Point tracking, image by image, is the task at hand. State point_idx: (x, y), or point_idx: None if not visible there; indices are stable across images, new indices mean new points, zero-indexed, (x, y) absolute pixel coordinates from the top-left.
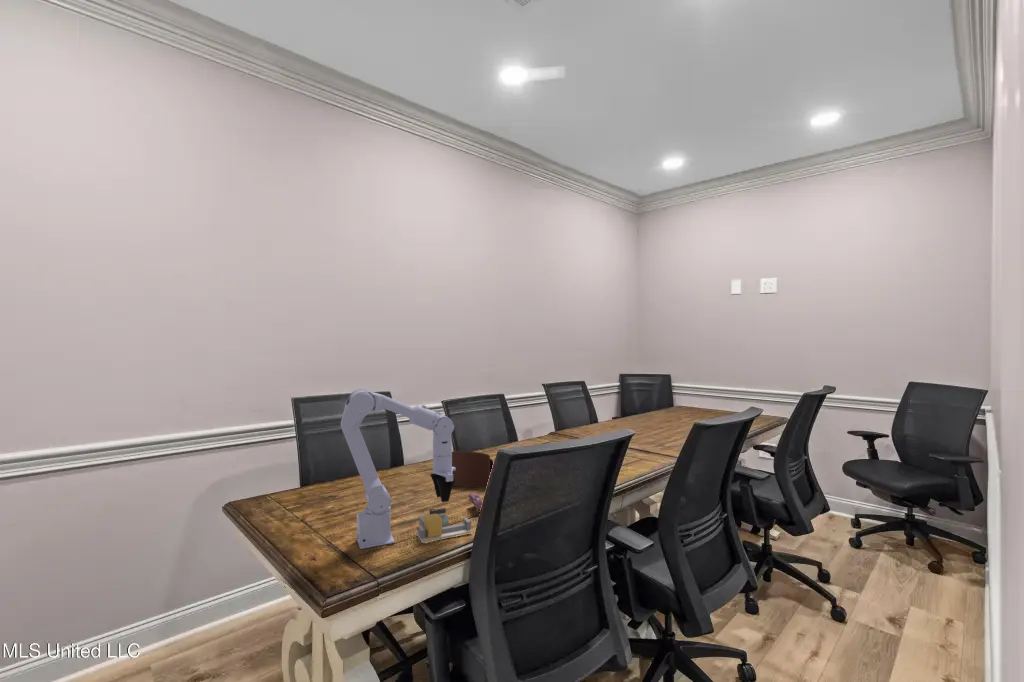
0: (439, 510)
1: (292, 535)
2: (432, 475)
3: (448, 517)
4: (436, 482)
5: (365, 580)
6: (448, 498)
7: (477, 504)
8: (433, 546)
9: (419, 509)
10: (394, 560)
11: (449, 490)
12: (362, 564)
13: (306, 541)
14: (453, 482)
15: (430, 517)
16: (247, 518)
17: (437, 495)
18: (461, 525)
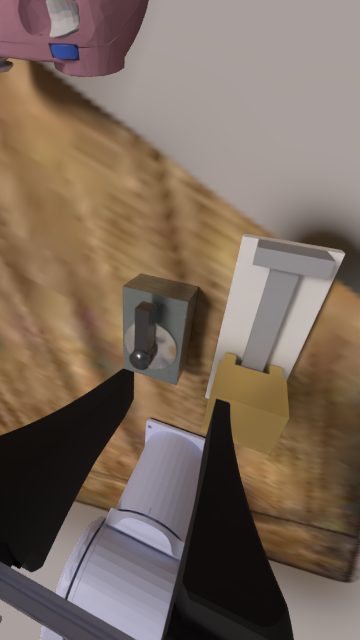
0: (148, 336)
1: (85, 487)
2: (27, 568)
3: (187, 302)
4: (75, 488)
5: (344, 545)
6: (228, 419)
7: (111, 60)
8: (311, 401)
9: (14, 283)
10: (305, 485)
11: (227, 474)
12: (269, 512)
13: (116, 492)
14: (276, 594)
15: (238, 431)
16: None
17: (128, 408)
18: (289, 290)
